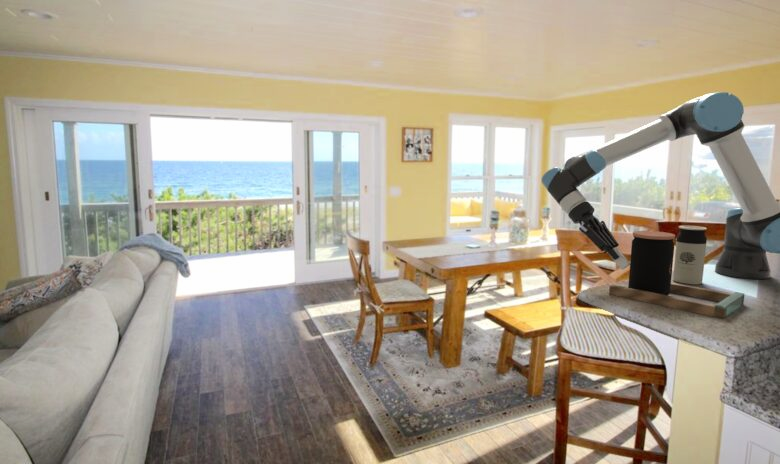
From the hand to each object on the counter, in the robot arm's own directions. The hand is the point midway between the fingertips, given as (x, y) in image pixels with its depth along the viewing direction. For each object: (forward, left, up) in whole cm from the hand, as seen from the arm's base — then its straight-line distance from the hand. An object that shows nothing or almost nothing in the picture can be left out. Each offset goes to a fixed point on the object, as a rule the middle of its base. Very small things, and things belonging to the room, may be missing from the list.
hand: (626, 267), depth 136 cm
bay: (-13, +4, -7) cm, 15 cm away
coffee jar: (-6, +2, -7) cm, 10 cm away
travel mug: (-17, -21, -7) cm, 28 cm away
